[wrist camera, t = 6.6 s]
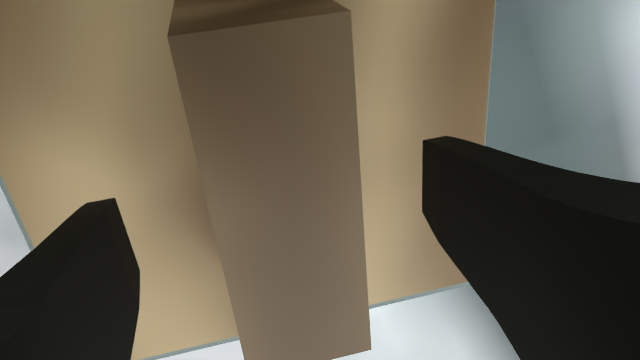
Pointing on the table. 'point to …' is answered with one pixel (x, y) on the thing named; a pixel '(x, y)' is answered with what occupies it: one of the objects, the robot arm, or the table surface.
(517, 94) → the table surface
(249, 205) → the oak lid
